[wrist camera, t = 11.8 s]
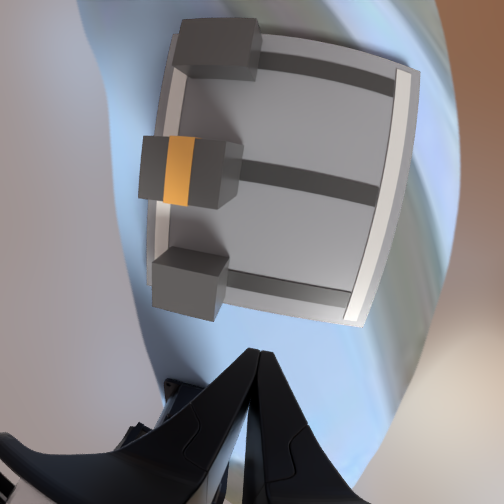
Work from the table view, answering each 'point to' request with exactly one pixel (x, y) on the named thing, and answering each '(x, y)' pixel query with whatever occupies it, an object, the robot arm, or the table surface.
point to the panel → (283, 173)
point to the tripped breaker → (189, 171)
